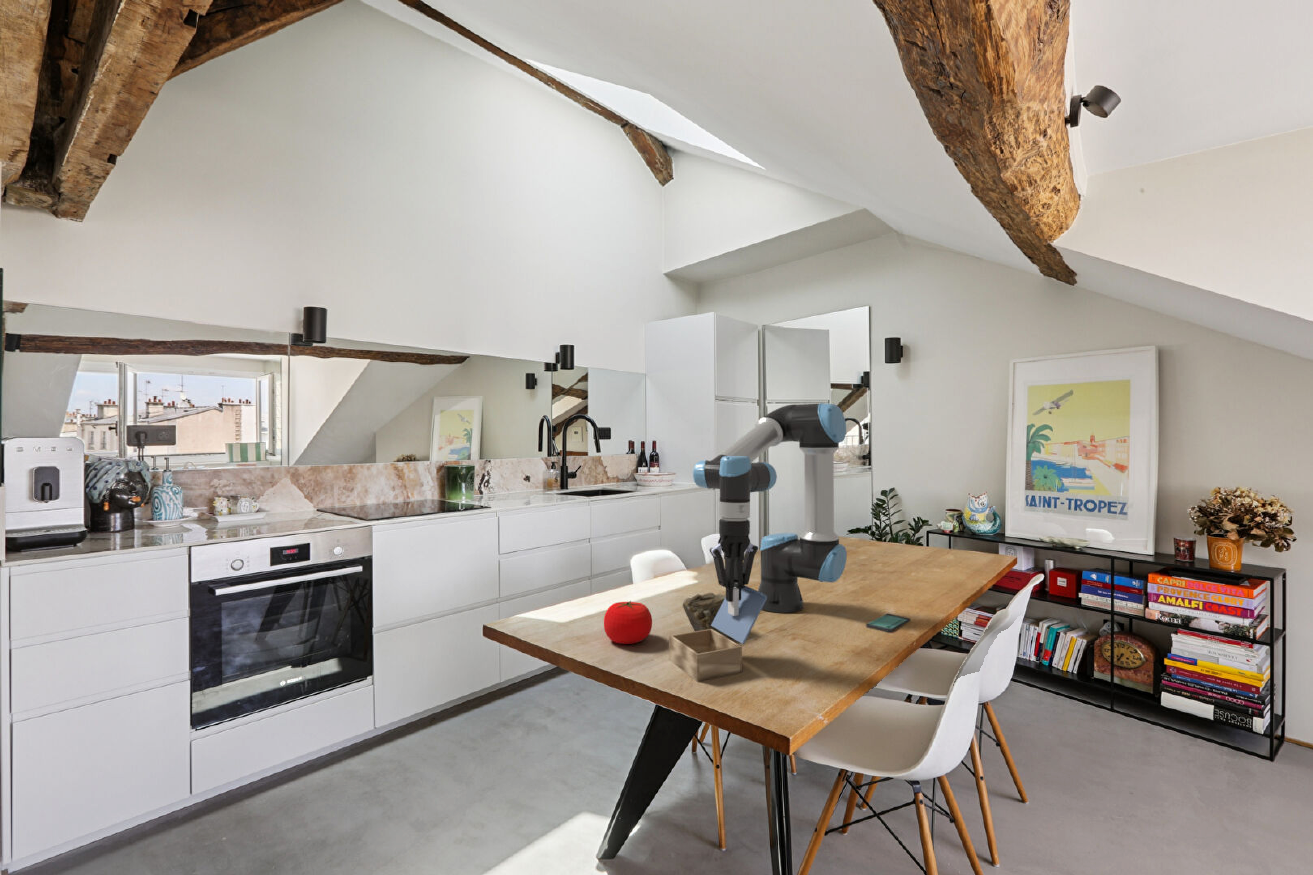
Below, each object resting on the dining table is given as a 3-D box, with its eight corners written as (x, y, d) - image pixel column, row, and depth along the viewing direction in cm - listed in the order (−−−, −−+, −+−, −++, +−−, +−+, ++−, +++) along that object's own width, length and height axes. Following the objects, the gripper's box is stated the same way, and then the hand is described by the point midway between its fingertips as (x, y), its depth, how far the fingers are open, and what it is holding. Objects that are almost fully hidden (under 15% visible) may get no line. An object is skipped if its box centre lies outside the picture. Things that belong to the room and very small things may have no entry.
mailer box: (669, 659, 148) (669, 635, 148) (711, 651, 153) (711, 628, 153) (697, 681, 135) (697, 654, 135) (741, 672, 140) (741, 646, 140)
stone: (692, 601, 158) (727, 574, 168) (673, 606, 164) (708, 580, 174) (721, 656, 157) (755, 625, 166) (702, 658, 163) (735, 629, 173)
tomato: (597, 634, 166) (597, 597, 166) (641, 629, 171) (641, 593, 170) (612, 652, 153) (612, 612, 153) (659, 646, 157) (659, 606, 157)
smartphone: (911, 617, 178) (889, 629, 168) (911, 621, 178) (889, 633, 168) (886, 612, 183) (864, 623, 173) (886, 616, 183) (864, 627, 173)
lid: (729, 578, 155) (734, 582, 156) (706, 622, 153) (712, 626, 153) (761, 592, 142) (767, 596, 143) (737, 640, 140) (743, 644, 140)
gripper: (719, 522, 141) (718, 621, 142) (765, 519, 147) (763, 615, 147) (704, 517, 148) (703, 612, 148) (747, 515, 154) (746, 606, 154)
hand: (733, 613), depth 148 cm, fingers closed
